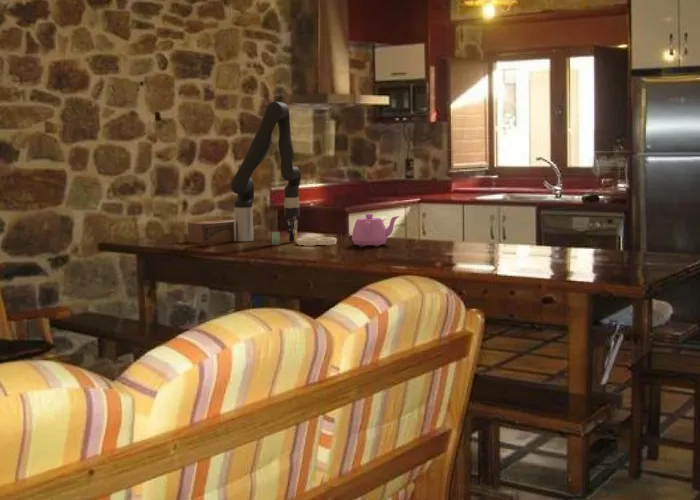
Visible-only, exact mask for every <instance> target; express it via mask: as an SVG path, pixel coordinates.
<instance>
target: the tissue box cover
mask: <svg viewBox="0 0 700 500" xmlns="http://www.w3.org/2000/svg"><path fill="white" fill-rule="evenodd" d="M234 222H235V219H221V220H220V219H219V220H205V221H204V220H203V221H192V222H191V221H190V222H188V223H187V234H188V235H187V236H188V237H187V238H188V242H191V243H196V244H212V243H213V244H214V243H223V242H235V241H234Z"/></svg>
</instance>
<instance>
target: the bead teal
mask: <svg viewBox="0 0 700 500" xmlns="http://www.w3.org/2000/svg"><path fill="white" fill-rule="evenodd" d="M271 245H273V246H276V245H277V246H279V245H281V232H280V231H272V232H271Z"/></svg>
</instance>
